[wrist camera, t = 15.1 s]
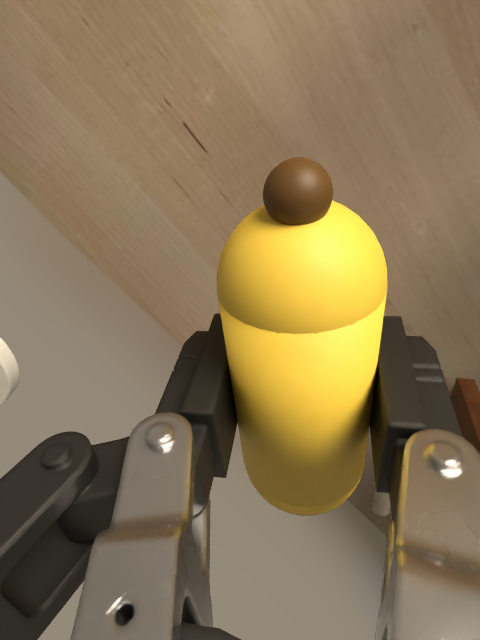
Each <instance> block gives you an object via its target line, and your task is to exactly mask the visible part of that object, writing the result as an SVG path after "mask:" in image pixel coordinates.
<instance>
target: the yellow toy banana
mask: <svg viewBox="0 0 480 640" xmlns="http://www.w3.org/2000/svg"><path fill="white" fill-rule="evenodd" d="M332 198H333V187H332V182H331V179H330V177H329V175H328V173H327V172H326V170H325V169H324V168H323V167H322V166H321V165H320V164H318V163H317V162H315V161H313V160H311V159H307V158H292V159H288V160H286V161H284V162H282V163H280V164H279V165H278V166H276V167H275V168H274V169H273V170H272V171H271V173H270V174H269V176H268V178H267V180H266V182H265V185H264V190H263V200H264V205H263V206H261V207H259V208H257V209H256V210H254V211H253V212H252V213H251V214H249V215H248V216H247V217H246V218H245V219H243V220H242V221H241V222H240V223H239V224H238V226H237V227H236V228H235V230H234V231H233V232H232V234H231V235H230V237H229V238H228V240H227V242H226V244H225V246H224V249H223V251H222V253H221V256H220V262H219V267H218V272H217V295H218V301H219V307H220V314H221V320H222V326H223V332H224V339H225V345H226V351H227V358H228V364H229V370H230V376H231V383H232V389H233V395H234V402H235V408H236V414H237V421H238V427H239V433H240V439H241V445H242V452H243V458H244V463H245V467H246V470H247V473H248V475H249V477H250V480H251V482H252V484H253V485H254V487H255V488H256V489H257V491H258V492H259V493H260V495H261V496H262V497H263V498H264V499H265V500H267V501H268V502H269V503H270V504H271V505H273V506H275V507H277V508H278V509H280V510H283V511H285V512H288V513H291V514H296V515H301V516H303V515H318V514H322V513H326V512H328V511H331V510H333V509H335V508H337V507H338V506H340V505H341V504H342V503H344V502H345V501H346V500H347V498H348V497H349V496H350V495H351V494H352V493H353V492H354V491H355V489H356V487H357V485H358V483H359V481H360V479H361V476H362V472H363V469H364V464H365V456H366V448H367V440H368V432H369V425H370V417H371V409H372V402H373V394H374V386H375V378H376V371H377V363H378V355H379V348H380V340H381V332H382V325H383V317H384V309H385V301H386V294H387V266H386V261H385V257H384V253H383V250H382V248H381V246H380V244H379V242H378V240H377V238H376V237H375V235H374V233H373V231H372V230H371V229H370V227H369V226H368V225H367V224H366V223H365V222H364V221H363V220H362V219H361V218H360V217H359V216H358V215H357V214H356V213H354V212H353V211H351V210H350V209H348V208H347V207H345V206H344V205H342V204H340V203H337V202H335V201H332Z"/></svg>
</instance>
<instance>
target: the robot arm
mask: <svg viewBox="0 0 480 640" xmlns="http://www.w3.org/2000/svg"><path fill="white" fill-rule="evenodd" d="M444 380H445V379H444V376H443V373H442V370H441V369H440V363H439V360H438V357H437V354H436V351H435V349H434V348H433V347H432V346H431V345H430V344H429V343H428V342H427V341H426V340H425V339H424V338H423V337H418V336H406V335H405V331H404V327H403V323H402V319H401V317H400V316H384V317H383V325H382V332H381V340H380V348H379V355H378V363H377V371H376V378H375V386H374V394H373V402H372V409H371V417H370V434H371V444H372V453H373V463H374V472H375V482H376V492H381V493H389V498H390V506H391V514H390V518H389V524H388V533H387V543H386V552H385V561H384V570H383V580H382V589H381V598H380V607H379V615H378V621H377V627H376V634H375V640H480V454H479V452H478V451H477V449H476V448H475V447H474V446H473V445H472V444H471V443H470V442H468V441H467V440H465V439H464V437H463V435H462V433H461V430H460V426H459V423H458V420H457V417H456V414H455V411H454V407H453V404H452V401H451V398H450V395H449V392H448V389H447V385H446V383H445V382H444ZM237 422H238V421H237V414H236V408H235V402H234V395H233V389H232V383H231V376H230V370H229V364H228V358H227V351H226V345H225V339H224V332H223V326H222V320H221V314H215V315H214V317H213V319H212V322H211V325H210V328H209V331H196V332H195V333H194V334H193V335H192V336H191V337H190V338H189V339H188V340H187V341H186V342H185V343H184V345H183V347H182V350H181V352H180V355H179V359H178V360H177V362H176V365H175V367H174V371H173V372H172V374H171V376H170V379H169V381H168V384H167V386H166V389H165V391H164V393H163V396H162V398H161V401H160V403H159V406H158V408H157V410H156V413H155V415H152V416H150V417H147V418H146V419H144V420H143V421H141V422H140V423H139V424H138V425H137V426H136V427H135V428H134V429H133V431H132V432H131V434H130V436H129V437H126V438H123V439H119V440H115V441H110V442H106V443H101V444H96V445H91V444H90V441H89V439H88V438H87V437H86V436H84V435H83V434H81V433H78V432H63V433H60V434H56V435H54V436H52V437H49V438H48V439H46V440H44V441H43V442H41V444H39V445H38V446H37V447H35V448H34V449H33V450H32V451H31V452H30V453H29V454H28V455H27V456H25V457H24V458H23V459H22V460H21V461H20V462H19V463H18V464H17V465H15V466H14V467H13V468H12V469H11V470H10V471H9V472H8V473H6V475H4V476H3V477H2V478H1V479H0V640H37V639H38V638H39V637H40V635H41V634H42V633H43V632H44V630H45V629H46V628H47V627H48V625H49V624H50V623H51V622H52V620H53V619H54V618H55V616H56V615H57V614H58V613H59V611H60V610H61V609H62V608H63V606H64V605H65V604H66V603H67V601H68V600H69V599H70V598H71V596H72V595H73V593H74V592H75V591H76V590H77V589H78V587H79V586H80V585H81V584H82V582H83V581H84V584H83V588H82V592H81V597H80V601H79V606H78V609H77V614H76V618H75V622H74V626H73V631H72V635H71V639H70V640H241V639H239V638H237V637H235V636H233V635H230V634H229V633H227V632H225V631H223V630H221V629H219V628H213V618H212V604H211V596H210V584H209V583H210V582H209V571H210V498H209V494H210V490H211V486H212V481H213V477H222V478H226V475H227V470H228V465H229V460H230V456H231V451H232V446H233V441H234V436H235V432H236V427H237Z"/></svg>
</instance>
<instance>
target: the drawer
mask: <svg viewBox="0 0 480 640" xmlns="http://www.w3.org/2000/svg"><path fill="white" fill-rule="evenodd" d="M451 401H452V404H453V407H454V411H455V414H456V417H457V420H458V423H459V426H460V430H461V433H462V435H463V437H464V439H465V440H467V441H468V442H470V443H471V444H472V445H473V446H474V447H475V448H476V449H477V451H478V452H479V454H480V392H479V390H478V387H477V385H476V382H475V380H474V379H462V378H457V379H456V382H455V385H454V388H453V391H452V395H451ZM371 508H372V510H373V512H374V513H375V514H377V515H379V516H386V515H388V514H389V512H390V509H391V506H390V498H389V493H381V492H376V485H375V489H374V494H373V499H372V504H371Z"/></svg>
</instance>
